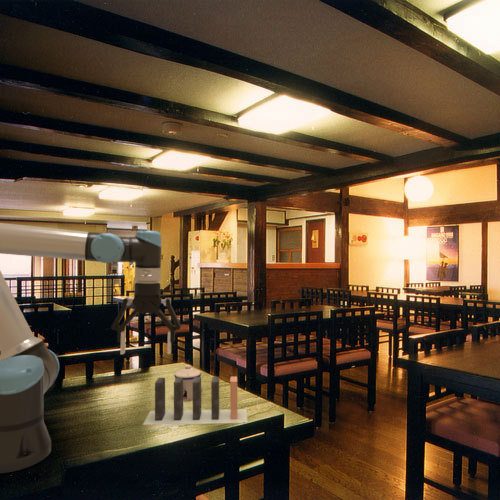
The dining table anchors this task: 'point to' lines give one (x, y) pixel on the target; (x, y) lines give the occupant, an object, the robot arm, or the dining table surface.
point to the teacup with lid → (188, 381)
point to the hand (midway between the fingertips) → (146, 353)
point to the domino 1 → (159, 399)
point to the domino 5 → (233, 397)
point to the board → (204, 419)
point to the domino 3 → (196, 398)
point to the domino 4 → (215, 398)
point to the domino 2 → (178, 398)
